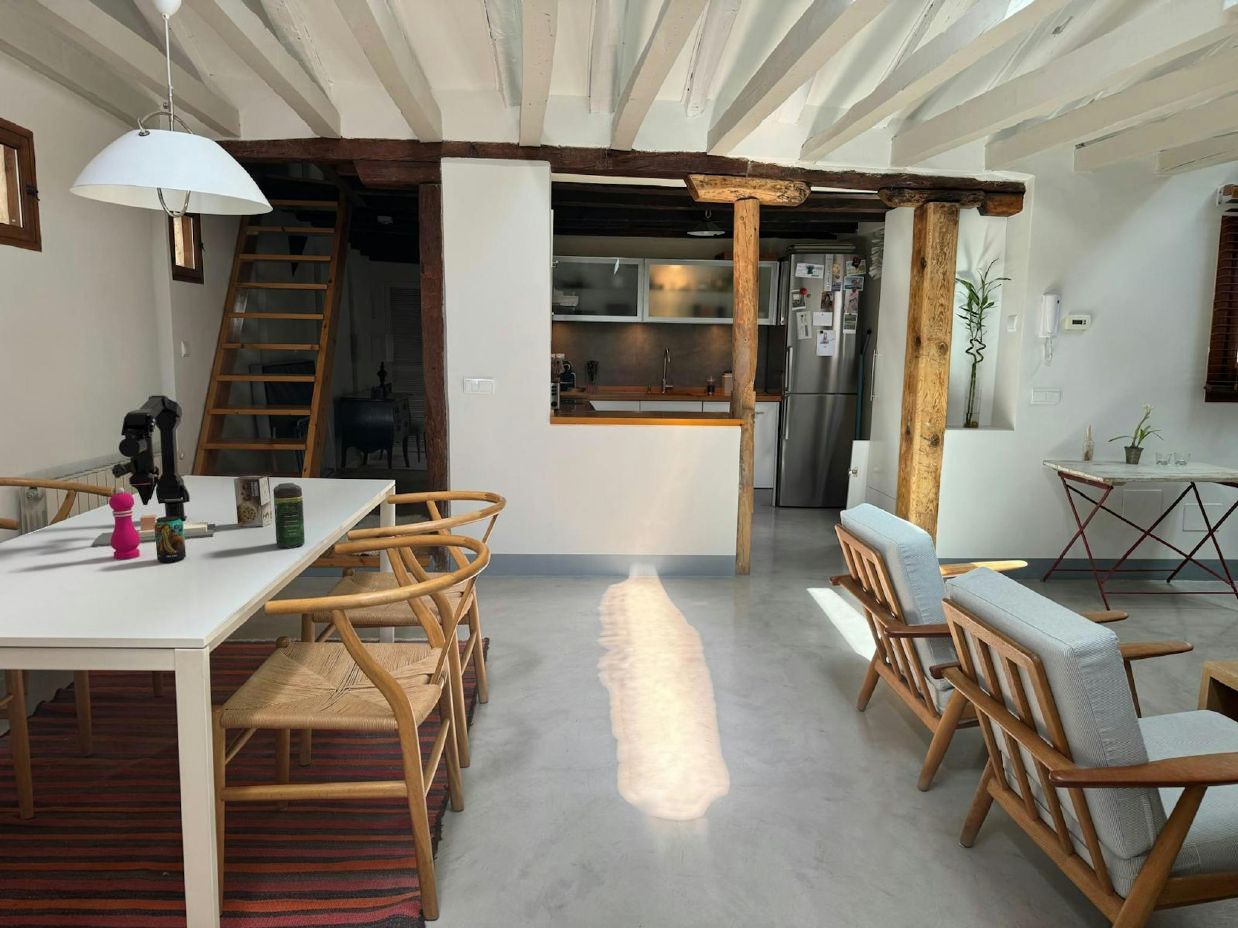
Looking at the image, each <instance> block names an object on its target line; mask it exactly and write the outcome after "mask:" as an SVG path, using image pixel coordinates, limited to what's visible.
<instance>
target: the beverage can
mask: <svg viewBox="0 0 1238 928" xmlns="http://www.w3.org/2000/svg"><path fill="white" fill-rule="evenodd" d="M156 520H157V522H156V524H155V526H154V528H155V539H156V542H155V549H156V559H157V561H159V562H160V563H162V564H171V563H177V562H181V561H183V560H185V558H186V557H187V552H186V539H185V538H184V526H183V524H184V522H183V521H181V520H180V517H179V516H167V517H166V516H161V517H157V519H156Z"/></svg>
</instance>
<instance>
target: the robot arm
mask: <svg viewBox="0 0 1238 928" xmlns="http://www.w3.org/2000/svg"><path fill="white" fill-rule="evenodd" d="M182 417H183V409H182V407H181V405H180V404H179V403H178V402H177V401H174V400H172V399H170V398H169V397H168V396H167V395H164V394H162V395H161V394H160V395H153V394H152V395H150V396H148V399H147V401H146V402H145V403H144V404H143V405H141V407H140V408H139V409H135V410H131V411H129V412H127V413H126V415H125V416H124V417H123V422H122V429H121V433H120V435H121V436H122V437H123V436H124V439H122V440H121V441H120V442H119V444H118V451H119V452H120V454H121V455H122V456H123V457H126V458H129V460H130V461H128V462H124V463H121V462H120V463H119V462H118V463H117V464H114V465H113V467H112V468H111V469H110V470H111V474H112V476H114V478H115V479H119V478H121V477H123V476H126V475H128V474H131V476H130V477H128V481H129V485H130V486H131V487H132V488H134V489H136V490H137V491H138V492H137V493H138V495H139V497H140V500H141V502H142V505H143V506H148V504H149V501H150V500H152V498H153V495H154V493H155V495H156V500H157V503H158V505H160V504H164V510H165V511H164V513H165V517H167V516H179V517H180V520H181V521H182V522H183V521H186V520H187V517H188V516H187V515H185V504H186V503H188V502H189V503H190V501H191V499H190V498H191V497H190V493H189V491H188V488H187V487H186V485H185V481H184V479H183V477H182V476H181V475H180V473H179V466H178V465H179V464H178V450H177V449H178V447H177V429H178V427H179V425H180V424H181V423H182V421H181V420H182ZM156 427H157V428H158V430H159V433H160V438H159V439H160V453H161V457H160V458H161V472H162V473H161V474H160V468H159V467H158V466H156V465H155V458H156V457H155V454H154V444H153V435H154V434H153V433H154V432H155V428H156Z"/></svg>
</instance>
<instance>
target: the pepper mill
mask: <svg viewBox="0 0 1238 928" xmlns="http://www.w3.org/2000/svg"><path fill="white" fill-rule="evenodd" d="M108 505H109V507H110V508H111V509H112V511H111V513H112V517H113V518H114V529H113V531H112V532H113V534H112V537H111V546H110V547H111V548H112V549H113V550H115V551H114V552H113V559H114V560H118V561H122V560H123V561H124V560H131V559H132V558H133V559H135V558H138V557H140V556H141V555H140V554H141V553H140V549H139V548H138V547H139V546H140V544H141V543H140V537H139V534H138V533H137V531H136V530H137V529H136V527H135V526H134V522H133V516H132V515H134V509H133V507H134V505H135V500H134V497H133V496H132V495H131V493H127V492H125V489H124V487H118V488H117V490H116V493H115V494H113V495H112V496H111V497H110V498H109V501H108ZM133 559H132V560H133Z"/></svg>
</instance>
